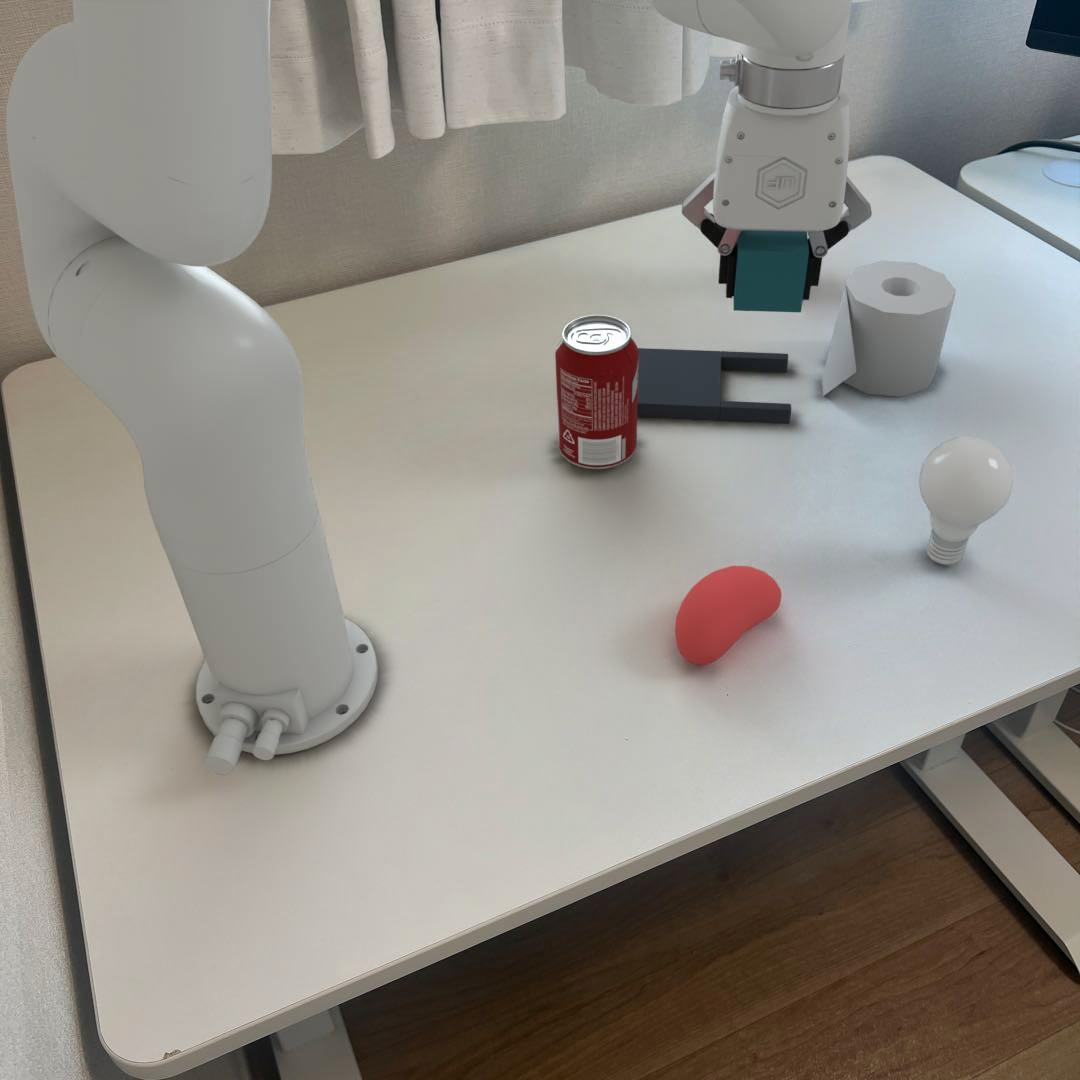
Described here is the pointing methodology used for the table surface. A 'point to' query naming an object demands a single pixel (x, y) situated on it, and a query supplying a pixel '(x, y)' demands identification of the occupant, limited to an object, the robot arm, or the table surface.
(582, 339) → the soda can
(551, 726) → the table surface
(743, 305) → the teal cube
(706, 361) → the dark grey u-shaped block
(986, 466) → the lightbulb
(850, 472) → the table surface
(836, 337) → the toilet tissue
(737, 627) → the red kidney bean
